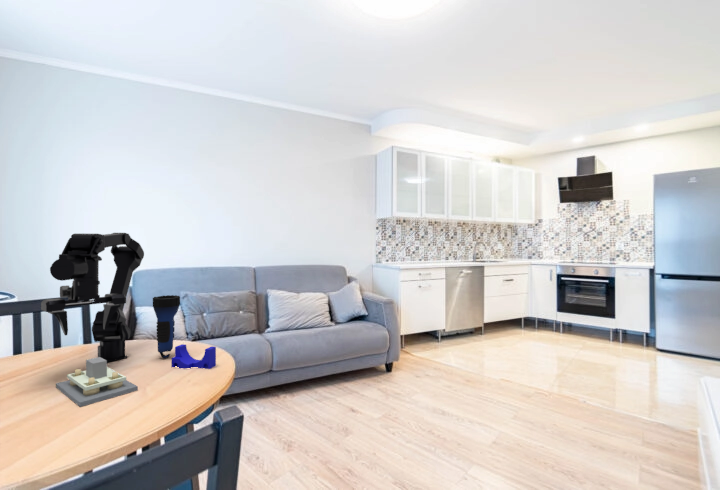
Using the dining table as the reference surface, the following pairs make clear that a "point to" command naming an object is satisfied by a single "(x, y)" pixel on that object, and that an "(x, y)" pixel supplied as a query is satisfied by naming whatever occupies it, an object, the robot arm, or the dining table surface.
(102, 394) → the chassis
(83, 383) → the board
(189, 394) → the dining table surface
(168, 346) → the flashlight
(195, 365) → the blue u-shaped cradle
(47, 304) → the robot arm
